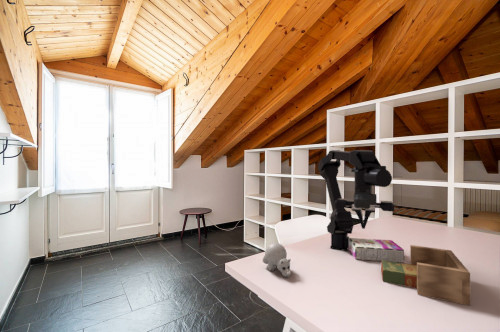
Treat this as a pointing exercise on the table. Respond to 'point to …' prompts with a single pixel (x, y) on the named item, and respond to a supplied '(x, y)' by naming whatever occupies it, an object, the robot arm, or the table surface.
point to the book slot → (440, 274)
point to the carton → (399, 273)
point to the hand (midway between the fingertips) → (363, 228)
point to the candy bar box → (376, 250)
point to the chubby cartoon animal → (277, 259)
